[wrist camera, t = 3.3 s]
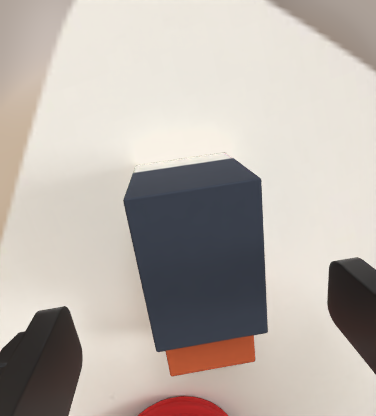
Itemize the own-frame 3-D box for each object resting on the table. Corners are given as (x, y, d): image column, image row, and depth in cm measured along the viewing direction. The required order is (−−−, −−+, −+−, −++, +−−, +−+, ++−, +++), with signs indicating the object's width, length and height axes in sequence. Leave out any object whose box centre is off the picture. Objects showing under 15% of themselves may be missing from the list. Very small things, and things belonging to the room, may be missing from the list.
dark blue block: (135, 165, 13) (122, 199, 9) (225, 151, 13) (261, 178, 9) (167, 328, 17) (170, 418, 12) (239, 316, 17) (271, 399, 12)
